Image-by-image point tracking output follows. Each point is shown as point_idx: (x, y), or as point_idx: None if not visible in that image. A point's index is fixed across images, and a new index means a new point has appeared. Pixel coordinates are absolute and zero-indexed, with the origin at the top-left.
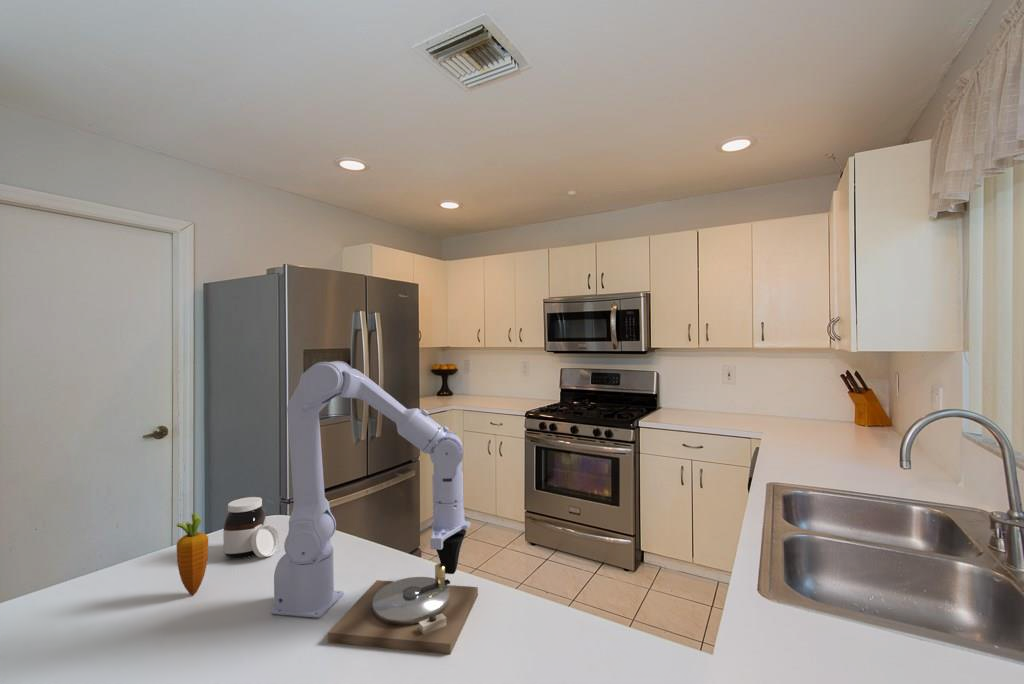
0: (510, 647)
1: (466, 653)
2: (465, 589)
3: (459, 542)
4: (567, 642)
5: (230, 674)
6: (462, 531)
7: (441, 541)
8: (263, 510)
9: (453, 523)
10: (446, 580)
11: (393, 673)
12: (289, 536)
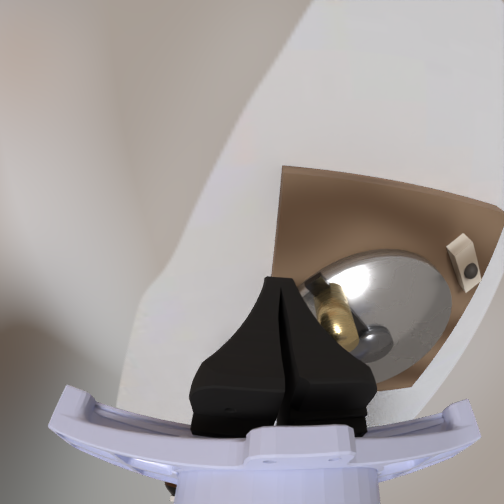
0: (492, 83)
1: (499, 175)
2: (300, 212)
3: (368, 372)
4: None
5: (423, 406)
6: (238, 399)
7: (477, 426)
8: (174, 490)
9: (377, 493)
10: (315, 288)
11: (498, 280)
12: None
